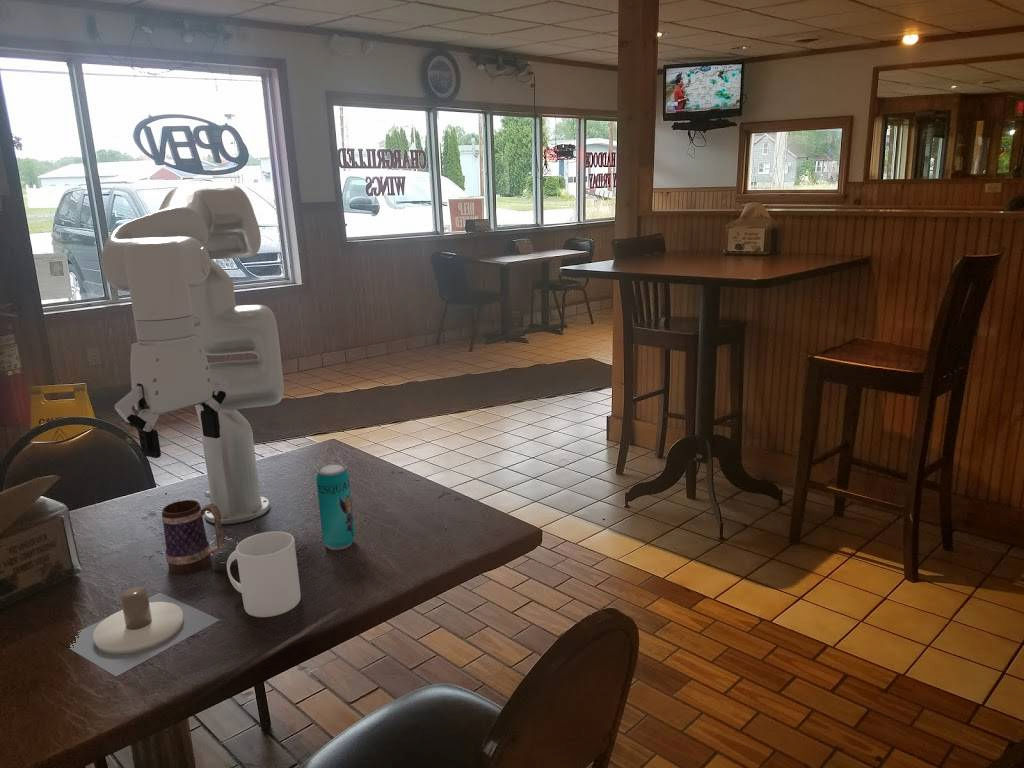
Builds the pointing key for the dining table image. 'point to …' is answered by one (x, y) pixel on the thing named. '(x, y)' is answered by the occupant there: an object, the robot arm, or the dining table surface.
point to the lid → (138, 624)
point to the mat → (125, 662)
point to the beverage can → (335, 506)
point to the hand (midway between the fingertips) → (183, 446)
